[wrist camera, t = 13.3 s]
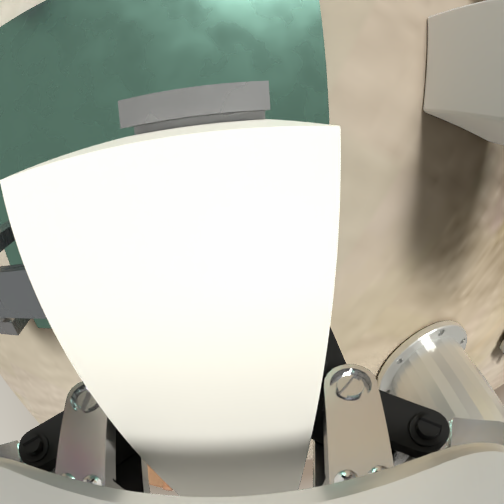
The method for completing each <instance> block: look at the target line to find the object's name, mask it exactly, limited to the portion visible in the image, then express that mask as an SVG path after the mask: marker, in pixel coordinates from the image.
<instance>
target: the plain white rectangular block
mask: <svg viewBox="0 0 504 504" xmlns="http://www.w3.org/2000/svg"><path fill="white" fill-rule="evenodd" d="M340 173H341V139H340V126H336V125H328V124H320V123H311V122H300V121H289V120H275V119H257V120H242V121H229V122H219V123H209V124H200V125H192V126H185V127H178V128H171V129H165V130H158V131H153V132H147V133H142V134H136V135H132V136H128V137H124V138H120V139H116V140H112V141H108V142H105V143H101V144H98V145H94V146H91V147H88V148H84V149H81V150H78V151H75V152H72V153H69V154H66V155H63V156H60V157H57V158H54V159H51V160H48V161H46V162H43V163H40V164H38V165H35V166H33V167H30V168H27V169H25V170H22V171H20V172H18V173H15V174H13V175H11V176H8V177H6V178H4V179H1V180H0V184H1V189H2V193H3V198H4V202H5V206H6V210H7V213H8V217H9V221H10V224H11V228H12V231H13V234H14V237H15V241H16V244H17V247H18V250H19V252H20V255H21V258H22V261H23V264H24V266H25V269H26V272H27V274H28V277H29V279H30V282H31V284H32V286H33V289H34V291H35V293H36V296H37V298H38V300H39V302H40V305H41V307H42V309H43V311H44V313H45V315H46V317H47V319H48V321H49V323H50V325H51V327H52V329H53V331H54V333H55V335H56V337H57V339H58V341H59V342H60V344H61V346H62V348H63V350H64V351H65V353H66V355H67V357H68V358H69V360H70V362H71V363H72V365H73V367H74V368H75V370H76V372H77V373H78V375H79V376H80V378H81V379H82V381H83V383H84V384H85V386H86V387H87V389H88V390H89V392H90V393H91V394H92V396H93V397H94V399H95V400H96V402H97V403H98V404H99V406H100V407H101V409H102V410H103V411H104V413H105V414H106V415H107V417H108V418H109V419H110V421H111V422H112V423H113V424H114V426H115V427H116V428H117V430H118V431H119V432H120V433H121V434H122V436H123V437H124V438H125V439H126V441H127V442H128V443H129V444H130V445H131V446H132V448H133V449H134V450H135V451H136V452H137V453H138V454H139V455H140V457H141V458H142V459H143V460H144V461H145V462H146V463H147V464H148V465H149V466H150V467H151V468H152V469H153V470H154V471H155V472H156V474H157V475H158V476H159V477H160V478H161V479H162V480H163V481H165V482H166V483H167V484H168V485H169V486H170V487H171V488H172V489H173V490H174V491H175V492H176V493H177V494H178V495H179V496H185V497H237V496H253V495H264V494H274V493H282V492H289V491H296V490H298V489H299V485H300V482H301V478H302V474H303V470H304V466H305V462H306V458H307V453H308V449H309V445H310V440H311V436H312V431H313V426H314V421H315V416H316V411H317V406H318V401H319V395H320V389H321V384H322V378H323V371H324V365H325V359H326V352H327V345H328V337H329V330H330V322H331V313H332V304H333V295H334V285H335V273H336V261H337V247H338V231H339V210H340Z"/></svg>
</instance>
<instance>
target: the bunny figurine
mask: <svg viewBox="0 0 504 504" xmlns="http://www.w3.org/2000/svg"><path fill="white" fill-rule="evenodd" d="M499 348H500V349H501V350H502V352H503V353H504V340H503V341H502V343H501V345H500V347H499Z"/></svg>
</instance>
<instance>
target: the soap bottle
mask: <svg viewBox="0 0 504 504" xmlns="http://www.w3.org/2000/svg"><path fill="white" fill-rule="evenodd" d="M423 110H424V111H425V112H426V113H428V114H431V115H433V116H436V117H438V118H440V119H443V120H445V121H447V122H450V123H452V124H454V125H456V126H459V127H461V128H463V129H465V130H467V131H469V132H471V133H473V134H475V135H477V136H479V137H481V138H483V139H485V140H487V141H489V142H493V143H497V144H500V145H504V0H486V1H481V2H477V3H473V4H469V5H465V6H462V7H458V8H455V9H451V10H448V11H445V12H441V13H438V14H435V15H432V16H429V17H428V51H427V72H426V85H425V96H424V106H423Z"/></svg>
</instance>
